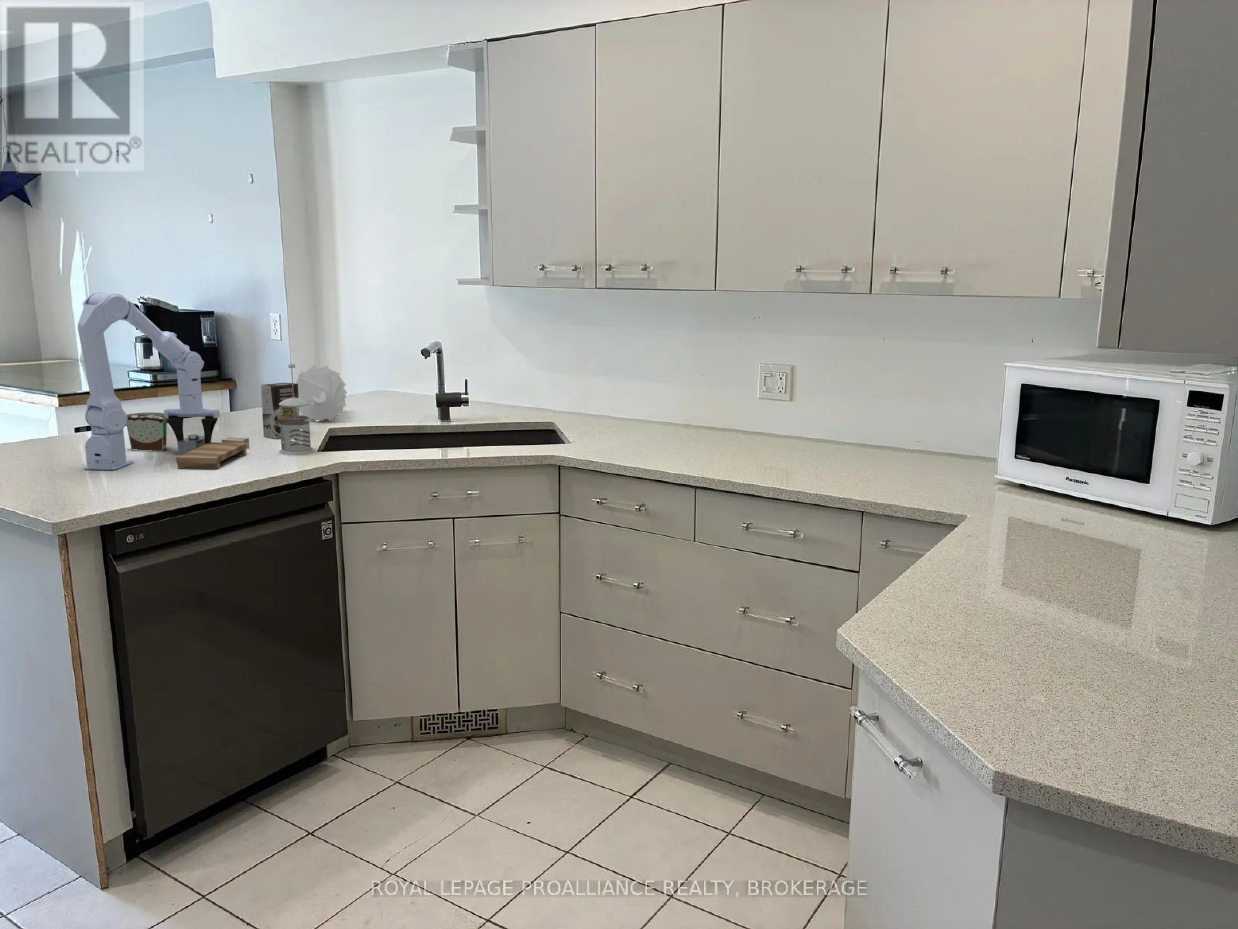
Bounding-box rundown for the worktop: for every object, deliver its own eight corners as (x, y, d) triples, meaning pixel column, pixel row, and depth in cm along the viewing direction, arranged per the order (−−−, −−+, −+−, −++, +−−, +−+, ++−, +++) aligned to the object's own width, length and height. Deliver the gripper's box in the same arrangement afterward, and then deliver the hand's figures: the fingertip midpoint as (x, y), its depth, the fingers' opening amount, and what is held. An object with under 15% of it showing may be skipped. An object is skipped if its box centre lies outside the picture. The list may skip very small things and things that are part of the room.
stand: (215, 469, 231) (214, 458, 231) (176, 468, 231) (175, 457, 231) (247, 453, 251) (246, 443, 250) (211, 452, 251) (210, 442, 250)
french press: (320, 452, 255) (316, 364, 250) (279, 457, 248) (274, 366, 242) (306, 446, 262) (302, 360, 257) (266, 451, 255) (260, 363, 249)
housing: (196, 456, 247) (195, 438, 246) (178, 455, 247) (177, 438, 246) (211, 449, 256) (209, 432, 255) (193, 449, 256) (192, 432, 255)
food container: (180, 447, 257) (177, 413, 255) (168, 451, 251) (165, 416, 249) (140, 445, 258) (136, 411, 256) (126, 449, 252) (123, 414, 250)
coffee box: (276, 439, 272) (272, 386, 268) (262, 436, 275) (259, 384, 272) (301, 435, 279) (298, 383, 276) (288, 432, 283) (285, 381, 279)
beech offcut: (242, 451, 255) (241, 440, 255) (222, 450, 256) (221, 439, 255) (249, 448, 259) (248, 438, 259) (230, 447, 260) (229, 437, 259)
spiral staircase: (333, 422, 324) (335, 431, 300) (285, 403, 317) (283, 410, 294) (354, 376, 323) (357, 382, 300) (306, 355, 317) (305, 359, 294)
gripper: (222, 392, 252) (226, 440, 255) (171, 391, 252) (175, 439, 255) (211, 396, 245) (215, 445, 248) (158, 395, 245) (163, 444, 248)
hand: (194, 442), depth 251 cm, fingers open, 7 cm apart
